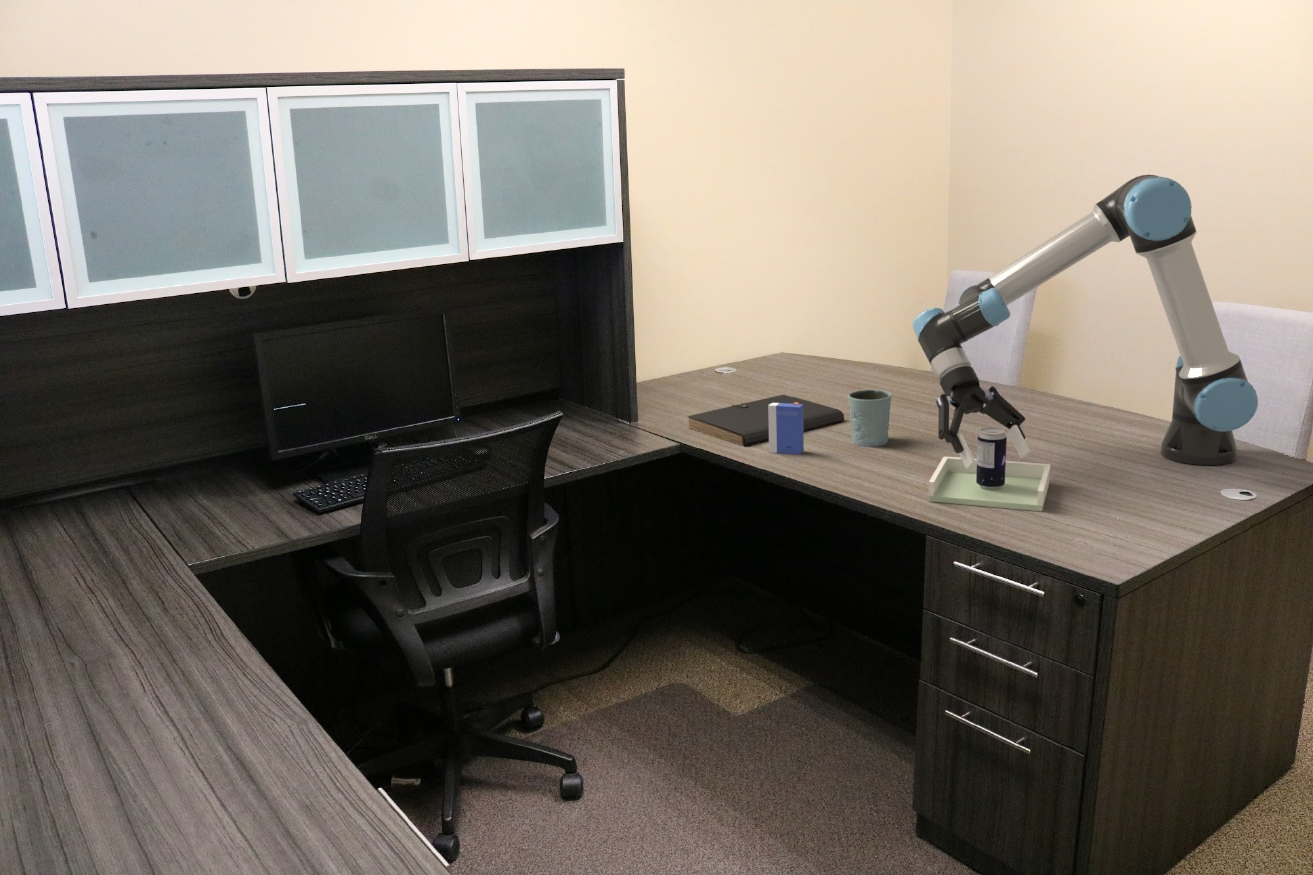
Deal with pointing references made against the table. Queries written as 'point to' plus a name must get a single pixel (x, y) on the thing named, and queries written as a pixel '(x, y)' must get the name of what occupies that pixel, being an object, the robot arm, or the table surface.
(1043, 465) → the box
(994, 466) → the beverage can
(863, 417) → the embossed teal cup
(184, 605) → the table surface
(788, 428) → the walkman
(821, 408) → the leather journal
